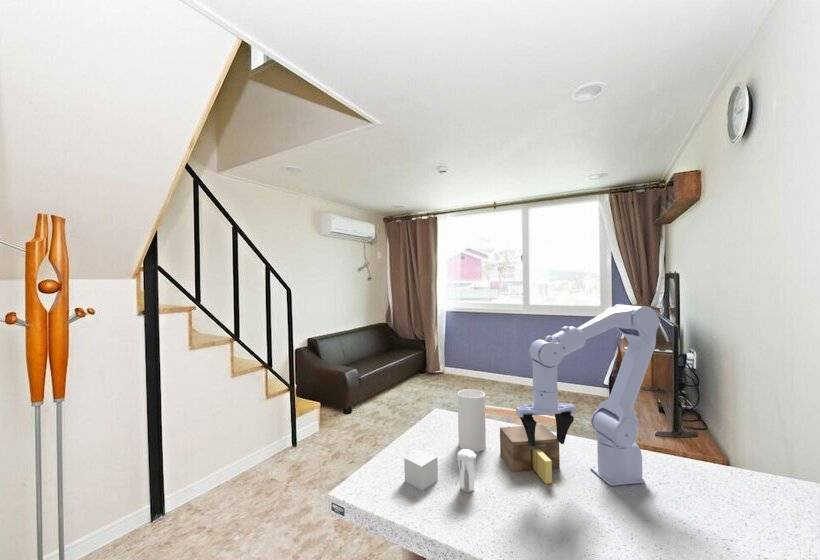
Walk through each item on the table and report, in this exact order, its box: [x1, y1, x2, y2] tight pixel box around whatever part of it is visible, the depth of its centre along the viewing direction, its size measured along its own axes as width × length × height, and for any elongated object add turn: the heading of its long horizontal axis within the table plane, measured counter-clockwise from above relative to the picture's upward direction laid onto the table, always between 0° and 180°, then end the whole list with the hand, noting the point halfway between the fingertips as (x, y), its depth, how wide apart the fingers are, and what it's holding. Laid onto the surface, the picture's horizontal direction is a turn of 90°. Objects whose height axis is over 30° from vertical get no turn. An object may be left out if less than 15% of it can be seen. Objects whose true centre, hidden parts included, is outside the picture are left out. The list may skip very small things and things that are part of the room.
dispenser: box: [499, 424, 561, 473], centre depth 95 cm, size 13×10×8 cm
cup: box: [457, 388, 487, 453], centre depth 105 cm, size 8×8×16 cm
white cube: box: [403, 449, 439, 492], centre depth 87 cm, size 6×6×6 cm
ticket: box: [531, 449, 553, 485], centre depth 92 cm, size 2×14×6 cm, turn 6°
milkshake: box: [456, 449, 480, 493], centre depth 84 cm, size 4×5×10 cm
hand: (546, 443), depth 86 cm, fingers open, 7 cm apart
